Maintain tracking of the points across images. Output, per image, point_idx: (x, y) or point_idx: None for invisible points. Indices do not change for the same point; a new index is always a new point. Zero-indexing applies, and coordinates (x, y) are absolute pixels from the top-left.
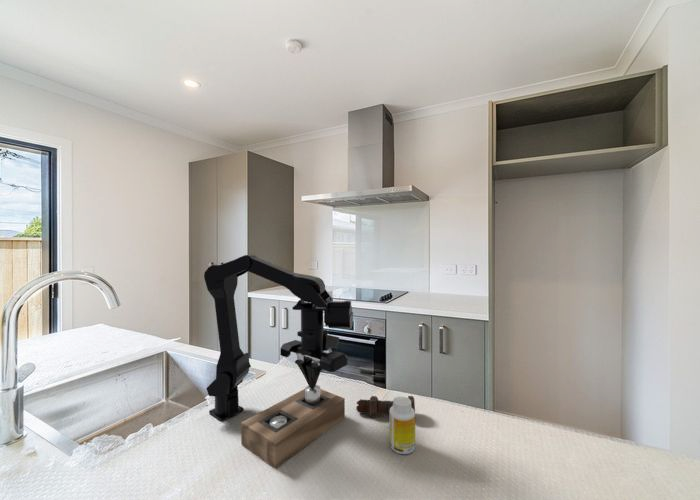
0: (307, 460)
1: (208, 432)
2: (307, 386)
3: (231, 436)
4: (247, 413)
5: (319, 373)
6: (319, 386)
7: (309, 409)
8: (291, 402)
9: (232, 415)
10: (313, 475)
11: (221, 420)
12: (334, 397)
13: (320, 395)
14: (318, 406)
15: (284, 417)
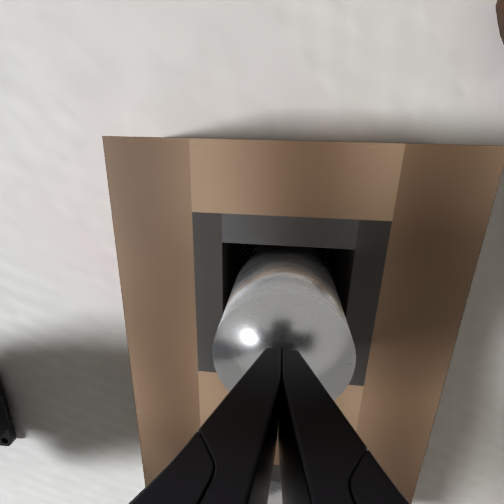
0: (431, 440)
1: (50, 481)
2: (216, 357)
3: (121, 465)
4: (25, 367)
5: (386, 485)
6: (314, 301)
7: (342, 392)
8: (192, 388)
9: (6, 408)
10: (490, 473)
11: (14, 440)
12: (413, 187)
13: (288, 227)
14: (372, 344)
15: (276, 489)
